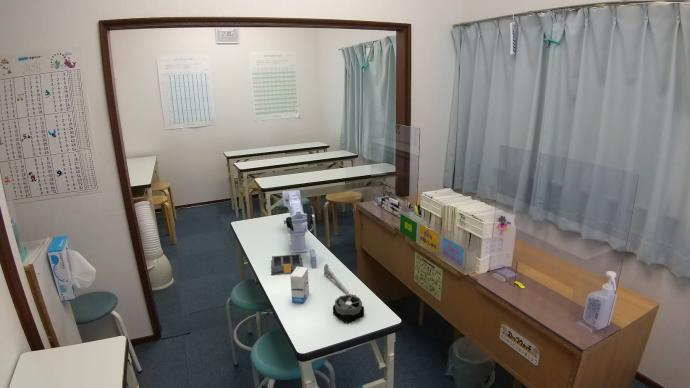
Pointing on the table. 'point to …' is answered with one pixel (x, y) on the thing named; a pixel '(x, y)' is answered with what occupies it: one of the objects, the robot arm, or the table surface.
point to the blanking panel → (313, 258)
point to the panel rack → (285, 264)
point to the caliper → (334, 278)
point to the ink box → (299, 284)
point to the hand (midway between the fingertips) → (301, 228)
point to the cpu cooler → (348, 308)
